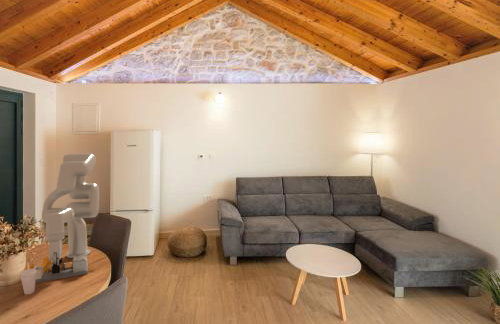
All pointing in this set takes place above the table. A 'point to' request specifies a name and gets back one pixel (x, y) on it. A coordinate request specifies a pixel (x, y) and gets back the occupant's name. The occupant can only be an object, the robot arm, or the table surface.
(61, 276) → the board
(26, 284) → the smoothie
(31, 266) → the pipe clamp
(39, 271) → the light grey u-shaped block
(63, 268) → the tube
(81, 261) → the sleeve
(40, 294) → the table surface
